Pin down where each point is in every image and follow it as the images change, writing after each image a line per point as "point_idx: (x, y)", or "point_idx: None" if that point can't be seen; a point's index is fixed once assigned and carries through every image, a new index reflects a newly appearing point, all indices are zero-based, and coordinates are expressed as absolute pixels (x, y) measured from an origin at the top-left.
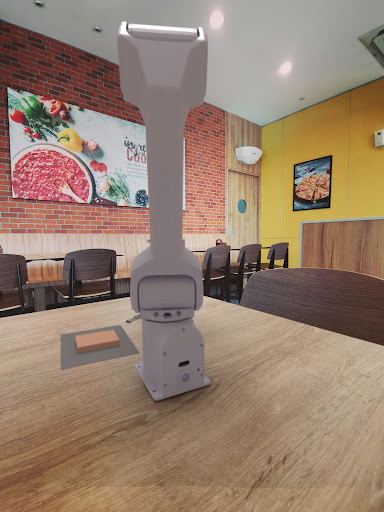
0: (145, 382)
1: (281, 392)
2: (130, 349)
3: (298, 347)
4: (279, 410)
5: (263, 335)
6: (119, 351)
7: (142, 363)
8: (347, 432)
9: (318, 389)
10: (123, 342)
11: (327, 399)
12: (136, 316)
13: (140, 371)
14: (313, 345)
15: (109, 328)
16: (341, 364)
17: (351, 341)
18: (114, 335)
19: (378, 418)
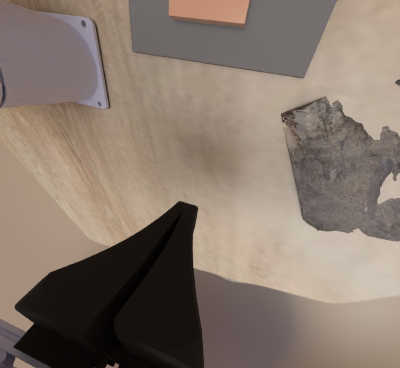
0: (42, 12)
1: (39, 139)
2: (151, 39)
3: (101, 210)
4: (19, 118)
5: (132, 215)
6: (151, 9)
7: (90, 34)
8: (4, 133)
9: (43, 162)
10: (189, 37)
11: (32, 155)
12: (326, 145)
13: (70, 18)
14: (101, 220)
15: (304, 34)
16: (71, 203)
17: (100, 239)
18: (201, 11)
19: (17, 158)
